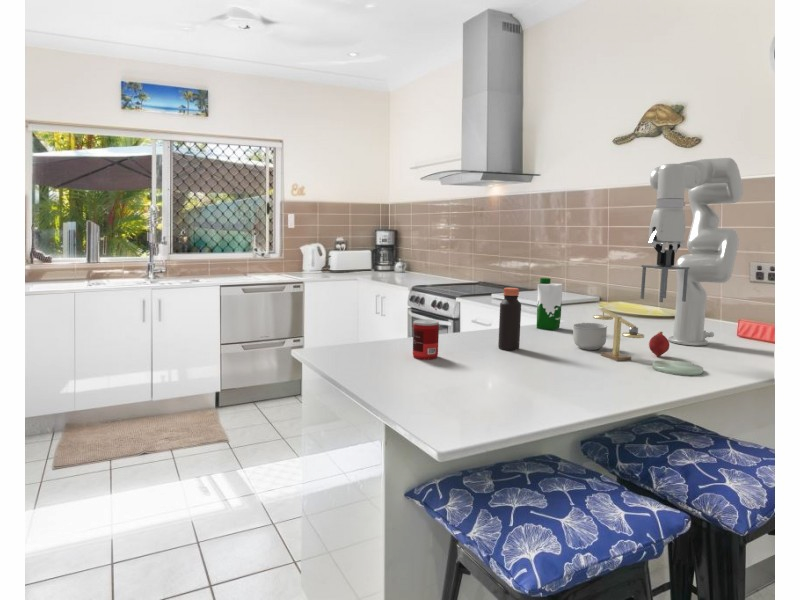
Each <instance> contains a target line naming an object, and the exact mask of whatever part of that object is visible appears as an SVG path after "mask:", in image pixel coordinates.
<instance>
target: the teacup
mask: <svg viewBox="0 0 800 600" xmlns="http://www.w3.org/2000/svg"><path fill="white" fill-rule="evenodd" d="M572 328H573V329H572V333H573V334H572V337H573V342H574V345H576V346H577V348H579V349H581V350H588V351H590V350H592V351H593V350H594V351H595V350H600V349H601V348H602V347H604V346H605V344H606V343H607V331H608V330H607V329H608V326H607V324H605V323H604V324H603V323H598V322H579V323H574V324H573V325H572Z"/></svg>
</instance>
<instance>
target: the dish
mask: <svg viewBox="0 0 800 600" xmlns="http://www.w3.org/2000/svg"><path fill="white" fill-rule="evenodd" d="M652 369H653V370H655V371H657V370H658V371H657V372H660V371H661V373H664V372H665V374H669V373H670V375H675V374H677V376H686V375H694V376H701V375H702V373H703V374H704V367H703V366H701V365H699V364H695V363H691V362H688V361H687V362H686V361H681V360H667V359H665V360H656V361H653V362H652ZM700 374H701V375H700Z"/></svg>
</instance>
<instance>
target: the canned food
mask: <svg viewBox="0 0 800 600" xmlns="http://www.w3.org/2000/svg"><path fill="white" fill-rule="evenodd" d="M412 325H413V326H412V357H413V358H415V359H418V360H434V359H437V357H438V355H439V335H440V334H439V333H440V331H439V330H440V329H439V328H440V327H439V326H440V321H439V320H435V319H425V318H424V319H423V318H422V319H416V320H413V324H412Z"/></svg>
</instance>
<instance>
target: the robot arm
mask: <svg viewBox="0 0 800 600" xmlns="http://www.w3.org/2000/svg"><path fill="white" fill-rule="evenodd" d="M650 173H651V174H650V177H649V183H650V186H651V188H652V189H653V190H654V191H657V193H656V206H655V207H656V208H655V209H653V211H652V215H651V219H650V223H649V230H648V245H649V246H651V247H653V249H654V250H655V253H657V254H656V265H660V266H665V265H666V253H664V252H665V250H666V247H667V250H673V251H672V261H671V266H682V267H690V269H688V279H687V291H686V302H683V301H682V296H683V283H684V271H685V269H675V272H676V297H675V311H674V324H673V335H672V336H669V337H668V338H667V339H668V341H669V343H673V344H677V345H684V346H695V347H697V346H699V347H700V346H707V345H708V344H709V342H708V340H707V338H713V337H715V333H714V332H713V331H707V330H704V329H705V321H706V318H705V317H706V306H707V296H708V295H707V291H706V289H705V288H704V287H703V285H702V284H701V283H713V284H714V283H717V284H719V283H720V284H724V283H727V282H729V281H730V279H731V278H732V275H733V274H732V273H733V271H734V267H735V262H736V258H737V253H738V247H739V240H740V239H739V235H738V233H737V231H736V230H735V229H733V228H729V227H727V228H725V227H722V228H721V227H719V223H720V217H719V215H718V214H717V212H716V211H715V210H714V209H713V208H712V207H711V206H710V204H712V205H714V204H715V205H716V204H717V205H718V204H719V205H720V204H721V205H723V204H730V205H731V204H736V203H738V202H740V200H741V199H742V197H743V194H744V185H743V182H742V177H741V173H740V169H739V166H738V164H737V162H736V161H735V160H734V159H733V158H731V157H719V158H703V159H697V160H692V161H686V162H685V161H684V162H680V163H665V164H662V165H660V166H657V167H654V169H652V172H650ZM687 190H688V194H687V195H688V196H687V197H688V201H689V202H688V203H689V207H690V210H691V213H692V221H691V222H692V223H691V226H690V230H689V233H688V237H687V242H686V241H685V237H686V214H685V209H684V207H685V206H686V202H685V191H687ZM718 227H719V228H718ZM685 244H686V249H687V251H688V252H689V253H688V254H687V253H686V254H683V255H681V256H679V257H678V259H676V263H675V258H676V257H675V256H676V253H677V252H678V250H679V249H680V247H683V246H684V245H685Z"/></svg>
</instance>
